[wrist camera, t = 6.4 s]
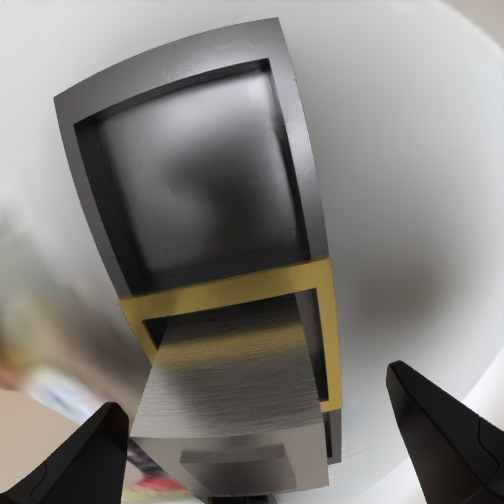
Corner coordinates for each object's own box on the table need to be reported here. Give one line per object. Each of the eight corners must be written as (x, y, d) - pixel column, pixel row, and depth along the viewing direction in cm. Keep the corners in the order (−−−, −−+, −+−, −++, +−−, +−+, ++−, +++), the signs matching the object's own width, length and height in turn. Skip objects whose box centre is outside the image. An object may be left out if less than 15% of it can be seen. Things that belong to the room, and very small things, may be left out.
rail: (335, 436, 15) (341, 464, 13) (235, 451, 16) (234, 479, 14) (272, 39, 7) (278, 15, 5) (86, 99, 8) (50, 97, 6)
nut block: (306, 367, 11) (329, 490, 6) (210, 382, 12) (195, 501, 7) (292, 283, 10) (325, 430, 5) (175, 305, 10) (127, 443, 5)
